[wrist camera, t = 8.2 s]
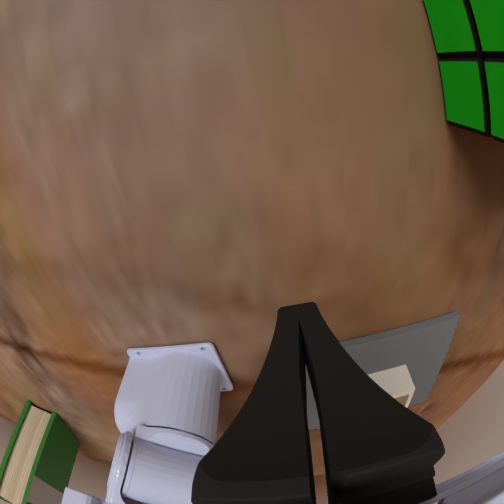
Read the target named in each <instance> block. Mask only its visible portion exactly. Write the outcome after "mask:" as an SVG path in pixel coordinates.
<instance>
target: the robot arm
mask: <svg viewBox="0 0 504 504" xmlns="http://www.w3.org/2000/svg"><path fill="white" fill-rule="evenodd" d="M203 347H204V348H203ZM127 354H128V355H129V357H130V360H129V363H128V365H127V368H126V371H125V374H124V377H123V380H122V383H121V386H120V388H119V391H118V394H117V397H116V401H115V409H114V412H115V421H116V424H117V427H118V429H119V431H120V432H121V434H120V435H119V438H118V442H117V446H116V449H115V453H114V457H113V461H112V465H111V469H110V473H109V478H108V482H107V488H108V489H107V494H106V499H105V501H102V500H101V499H98V498H96V497H94V496H92V495H89V494H87V493H84V492H81V491H78V490H76V489H73V488H70V487H65V491H64V495H63V499H62V503H61V504H316V495H315V485H314V475H313V465H312V456H311V446H310V437H309V429H308V418H307V388H306V367H307V371H308V375H309V379H310V383H311V387H312V391H313V395H314V400H315V404H316V408H317V412H318V417H319V423H320V431H321V439H322V447H323V455H324V464H325V473H326V483H327V493H328V504H433V503H435V502H438V501H439V502H438V504H504V451H502V452H501V453H499V454H497V455H496V456H494V457H492V458H491V459H489V460H487V461H485V462H483V463H481V464H480V465H478V466H476V467H474V468H472V469H470V470H468V471H466V472H464V473H462V474H460V475H458V476H456V477H453V478H451V479H449V480H447V481H444V482H442V483H440V484H437V485H435V483H434V479H433V476H435V470H434V467H433V465H434V464H435V463H436V462H437V461H438V460H440V459H441V458H442V456H443V455H444V453H445V449H444V445H443V442H442V440H441V438H440V436H439V434H438V432H437V431H436V429H435V427H434V426H433V425H432V424H431V423H429V422H428V421H426V420H424V419H423V418H421V417H420V416H418V415H416V414H415V413H413V412H412V411H410V410H409V409H408V408H406V407H405V406H404V405H402V404H401V403H399V402H398V401H397V400H396V399H394V398H393V397H392V396H391V395H390V394H388V393H387V392H386V391H385V390H384V389H382V388H381V387H380V386H379V385H378V384H377V383H376V382H375V381H373V380H372V379H371V378H370V377H369V376H368V375H367V374H366V373H365V372H364V371H363V370H362V369H361V368H360V367H359V365H358V364H357V363H356V362H355V361H354V360H353V359H352V358H351V356H350V355H349V354H348V353H347V352H346V350H345V349H344V348H343V347H342V345H341V344H340V343H339V341H338V340H337V338H336V337H335V336H334V334H333V333H332V332H331V330H330V329H329V327H328V326H327V324H326V322H325V321H324V319H323V317H322V316H321V314H320V312H319V310H318V308H317V305H316V303H314V302H309V303H303V304H297V305H292V306H286V307H280V308H279V309H278V315H277V322H276V327H275V331H274V335H273V339H272V342H271V345H270V349H269V352H268V355H267V357H266V360H265V362H264V365H263V367H262V370H261V372H260V375H259V377H258V379H257V381H256V383H255V385H254V387H253V389H252V391H251V393H250V395H249V397H248V398H247V400H246V402H245V403H244V405H243V407H242V408H241V410H240V412H239V413H238V415H237V416H236V418H235V419H234V420H233V422H232V423H231V425H230V426H229V427H228V429H227V430H226V431H225V433H224V434H223V435H222V437H221V438H220V439H219V440H218V441H217V443H216V437H217V425H218V413H219V402H220V391H231V390H233V384H232V382H231V380H230V378H229V376H228V374H227V372H226V370H225V367H224V365H223V363H222V361H221V359H220V357H219V355H218V353H217V351H216V348H215V346H214V345H213V344H212V343H209V342H207V343H197V344H187V345H175V346H163V347H148V348H130V349H128V351H127ZM440 500H441V501H440Z"/></svg>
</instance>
